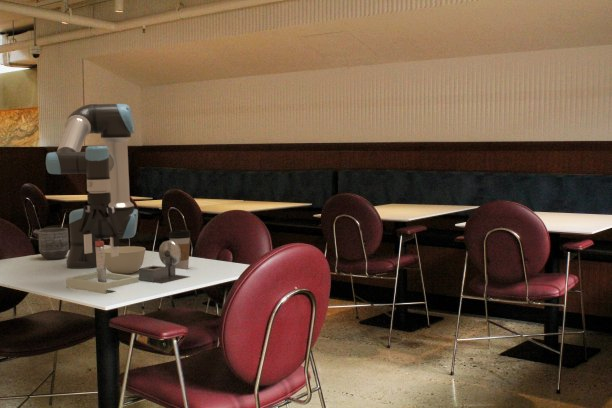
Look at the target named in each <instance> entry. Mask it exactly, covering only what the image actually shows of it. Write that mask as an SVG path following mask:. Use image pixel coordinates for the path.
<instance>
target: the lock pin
mask: <svg viewBox="0 0 612 408" xmlns="http://www.w3.org/2000/svg"><path fill="white" fill-rule="evenodd" d="M95 246H96V247H95V248H96V262H97V267H96V272H97V276H98V278H97V282H103V283H107V278H106V272H107V271H106V270H107V269H106V267H105V253H104V249H105V243H104V240H100V241H95Z"/></svg>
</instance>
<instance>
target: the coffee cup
mask: <svg viewBox="0 0 612 408" xmlns="http://www.w3.org/2000/svg"><path fill="white" fill-rule="evenodd" d="M190 238H191V232H190V230H189V229H185V230H173V231H169V233H168V239H169V240H173V241H175V242H176V243H177V244H178V245H179V247H180V250H181V259H180V261H179V263H178V264H176V265H175V269H180V270H188V269H189V263H190V260H189V259H190V248H191V247H190V245H191V242H190V241H191V240H190Z"/></svg>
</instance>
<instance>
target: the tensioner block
mask: <svg viewBox="0 0 612 408" xmlns="http://www.w3.org/2000/svg"><path fill="white" fill-rule="evenodd" d="M158 258H159V259H160V261H161V263H162V264H163V266H162V265H161V266H160V265H149V266H144V267H140V268H139V269H138V276H137V277H138V280H139V281H140V282H147V283H152V284H153V283H155V284H161V285H162V284H167V283H171V282H175V281H179V280H184V279H188V278H190V276H187V275H180V274H176V268H175V265H176V264H178V263H179V261H180V259H181V250H180V247H179V245H178V244H177V243H176V242H175V241H173V240H170V239H169V240H165V241H163V242H162V243H161V244H160V245H159V249H158Z"/></svg>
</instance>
